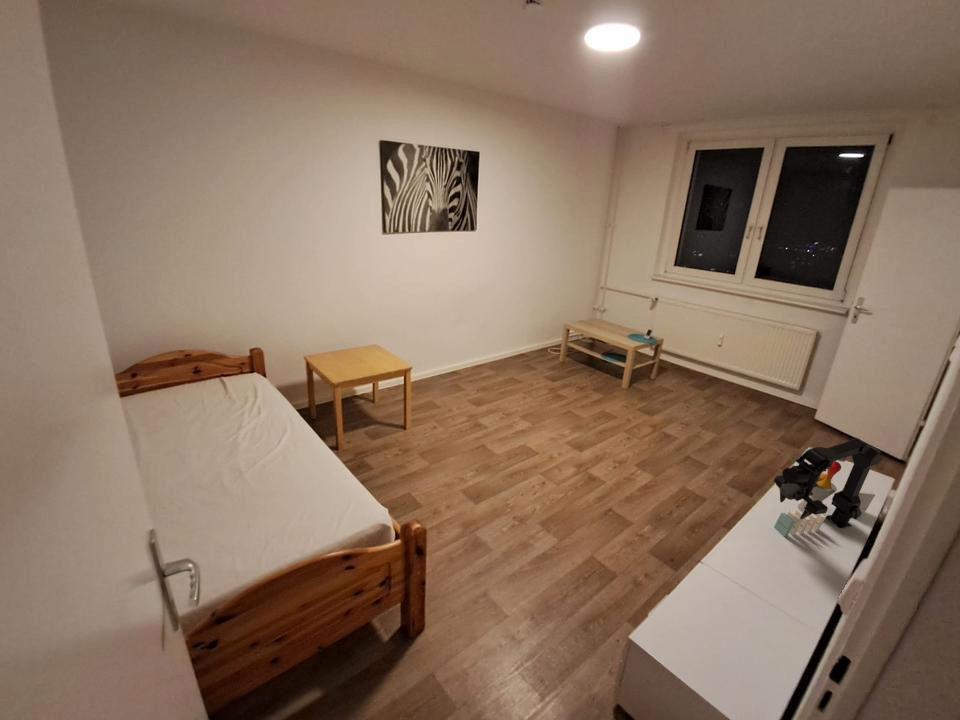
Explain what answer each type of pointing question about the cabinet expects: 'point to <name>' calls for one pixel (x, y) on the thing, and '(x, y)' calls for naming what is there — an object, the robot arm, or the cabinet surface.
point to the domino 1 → (784, 524)
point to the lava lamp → (824, 485)
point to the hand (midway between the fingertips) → (791, 510)
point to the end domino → (818, 522)
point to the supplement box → (865, 498)
